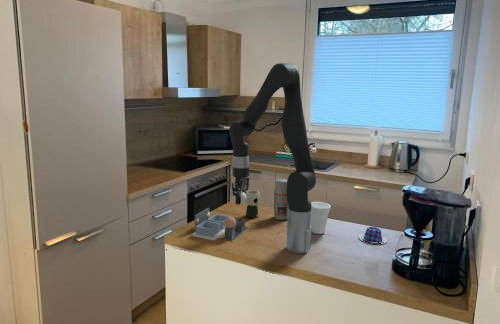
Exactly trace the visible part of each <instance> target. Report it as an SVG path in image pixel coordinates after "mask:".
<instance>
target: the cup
mask: <svg viewBox="0 0 500 324" xmlns="http://www.w3.org/2000/svg"><path fill="white" fill-rule="evenodd" d="M310 202H311V205H312V206H311V222H310V226H311V227H312V228H311V233H313V234H317V235H322V234H325V231H326V227H327V224H328V223H327V221H328V217H329V213H330V211H331V207H332V206H331V204H329V203H327V202H324V201H310Z"/></svg>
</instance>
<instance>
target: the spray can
mask: <svg viewBox="0 0 500 324" xmlns="http://www.w3.org/2000/svg"><path fill="white" fill-rule="evenodd" d="M273 194H274V195H273V197H274V198H273V201H274V202H273V205H274V206H273V207H274V208H273V214H274V215H273V216H274V217H273V218H274V219H275V220H277V221H278V220H279V221H288V203H287V179H279V178H278V179H277V178H276V179H275V183H274V192H273Z"/></svg>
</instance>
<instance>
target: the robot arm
mask: <svg viewBox="0 0 500 324" xmlns="http://www.w3.org/2000/svg"><path fill="white" fill-rule="evenodd" d="M265 77H266V78H265V79H264V81H263V83H262V85H261V86H260V88H259V90H258V92H257V94H256V95H255V96H254V98H253V100H252V101H251V102H250V103H249V105H248V106H247V108H246V109H244V112H243V113H242V117H243V119H242V120H235V121H232V122H231V123H230V125H229V129H228V130H229V131H228V132H229V137H230V141H231V144H232V161H231V162H232V165H231V166H232V177H233V178H235V179H234V183H231V190H232V195H233V196H234V197H235V196H236V199H235V205H238V206H239V205H241V192H244V193H245V194H246V193H247V191H248V190H249V188H250V187H249V186H250V146H249V143H248V142H246V141H244V139H243V137H248V136H250V135H251V134H252V133H253V132H254V130H255V128H256V125H257V123H258V122H259V120H260V119H261V118H262V116H264V114H265V113H266V111H267V109H268V107H269V104H270V101H271V99H272V97H273V96H274V95H275V93H277V92H278V90H279V89H281V88H282V89H283V95H284V106H283V111H282V114H281V115H282V117H281V129H282V136H283V139H284V142H285V144H286V146H287V147H288V149H289V151H290V153H291V154H292V157H293V160H294V167H295V171H292V172H291V173H290V174H289V175H288V176H287V179H286V180H287V203H288V219H287V225H286V226H287V228H286V229H287V230H286V244H285V245H286V248H285V249H286V250H287V251H289V252H290V253H294V254H307V253H308V252H309V251H310V249H311V243H312V239H311V238H312V232H311V228H312V227H311V224H310V222H311V206H312V205H311V202H312V201H310V200H309V195H308V194H309V191H311V190H313V189H314V188H315V186H316V183H317V177H316V173H315V169H314V165H313V161H312V158H311V153H310V146H309V145H310V144H309V139H308V134H307V128H306V127H307V126H306V121H305V120H306V119H305V116H304V110H303V103H302V102H303V101H302V94H301V77H300V71H299V69H298V68H297V66H296V65H295V64H293V63H286V62H285V63H283V62H279V63H276V64H274V65H273V66H272V67H271V69H270V70H269V72H268V73H267V75H266V76H265ZM245 201H246V200H245ZM245 201H244V202H245Z"/></svg>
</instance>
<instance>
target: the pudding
mask: <svg viewBox="0 0 500 324" xmlns="http://www.w3.org/2000/svg"><path fill="white" fill-rule="evenodd" d="M362 235H364V237H363V238H364V239H366V241H370V243H371V242H378V243H379V242H380V243H381V241H382V242H383V240H382V238H383V239H384V240H385V241H384V243H381V244H380V245H382V244H386V243H387V242H388V239H387V237H385V236H383V235H382V231H381V229H380V228H378V227H376V226H369V227H367V228H366V229H365V233H362V234H359V235H358V238H359V239H360V240H361V241H362V242H364V241H363V240H362V239H361V236H362ZM366 243H368V242H366ZM368 244H369V243H368ZM371 244H372V245H374V244H373V243H371Z"/></svg>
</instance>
